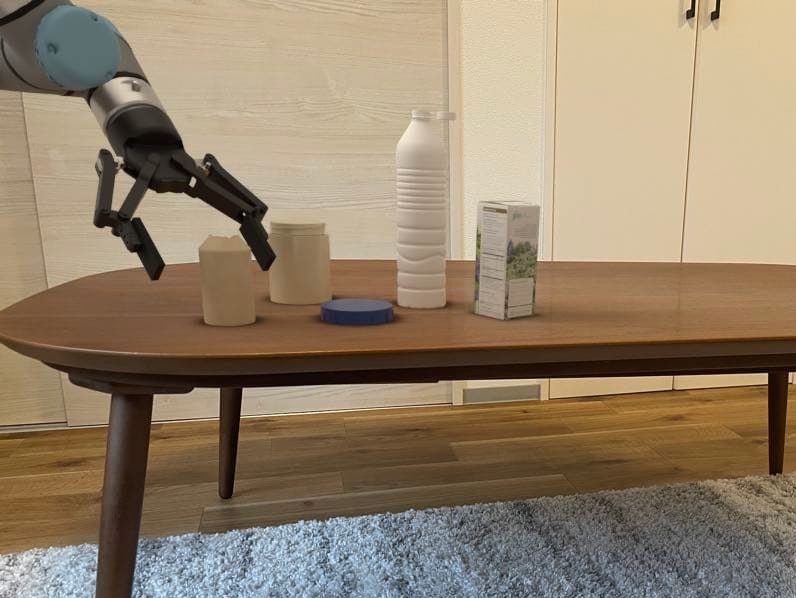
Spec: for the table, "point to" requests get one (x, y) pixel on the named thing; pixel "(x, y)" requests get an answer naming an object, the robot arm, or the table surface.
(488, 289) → the syrup box
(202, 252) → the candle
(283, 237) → the jar
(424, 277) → the water bottle
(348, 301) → the lid
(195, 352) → the table surface
